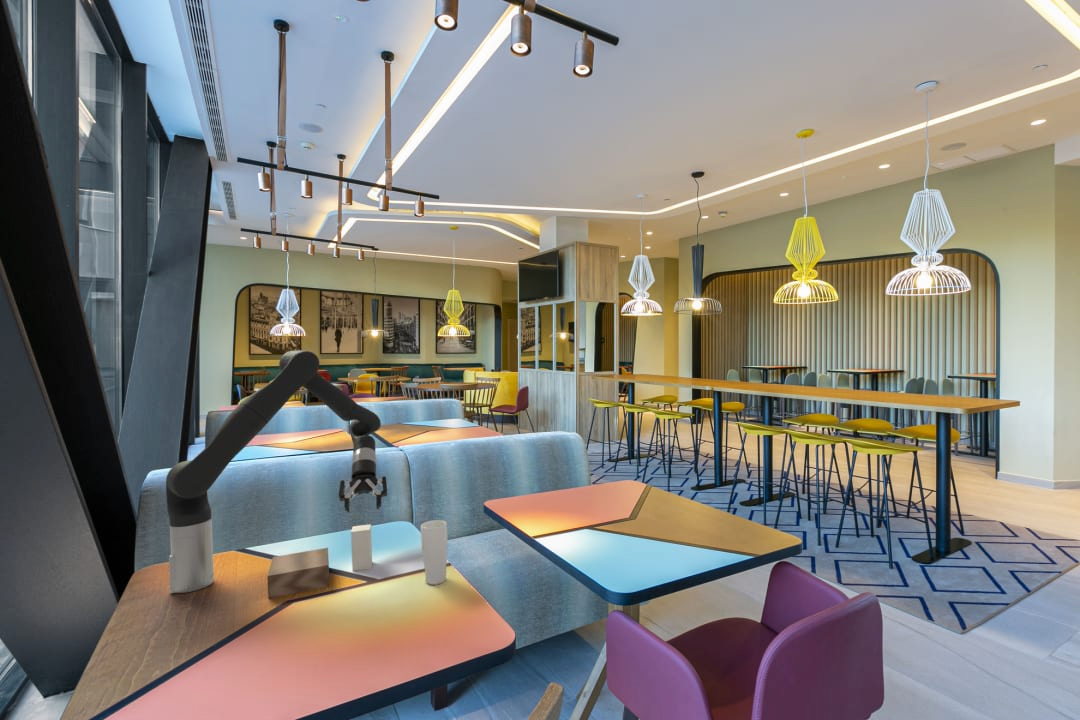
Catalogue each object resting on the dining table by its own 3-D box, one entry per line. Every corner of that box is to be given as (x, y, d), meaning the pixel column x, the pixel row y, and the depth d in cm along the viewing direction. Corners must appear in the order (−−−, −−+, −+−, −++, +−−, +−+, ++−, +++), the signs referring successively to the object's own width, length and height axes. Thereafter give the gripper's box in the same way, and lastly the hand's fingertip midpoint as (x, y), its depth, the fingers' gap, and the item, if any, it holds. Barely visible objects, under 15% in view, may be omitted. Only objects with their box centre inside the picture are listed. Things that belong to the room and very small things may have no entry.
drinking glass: (443, 587, 126) (440, 528, 126) (418, 586, 128) (416, 527, 128) (453, 576, 133) (450, 520, 133) (429, 575, 134) (427, 519, 134)
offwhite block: (352, 571, 139) (351, 531, 139) (354, 564, 144) (352, 526, 144) (371, 568, 141) (369, 529, 141) (372, 562, 145) (370, 524, 146)
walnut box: (268, 600, 124) (267, 576, 124) (273, 578, 137) (272, 557, 137) (329, 587, 130) (328, 564, 130) (328, 568, 143) (328, 547, 143)
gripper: (339, 460, 158) (336, 506, 147) (386, 456, 162) (386, 500, 151) (342, 473, 163) (339, 518, 152) (387, 469, 167) (388, 513, 156)
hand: (363, 509), depth 152 cm, fingers open, 8 cm apart
